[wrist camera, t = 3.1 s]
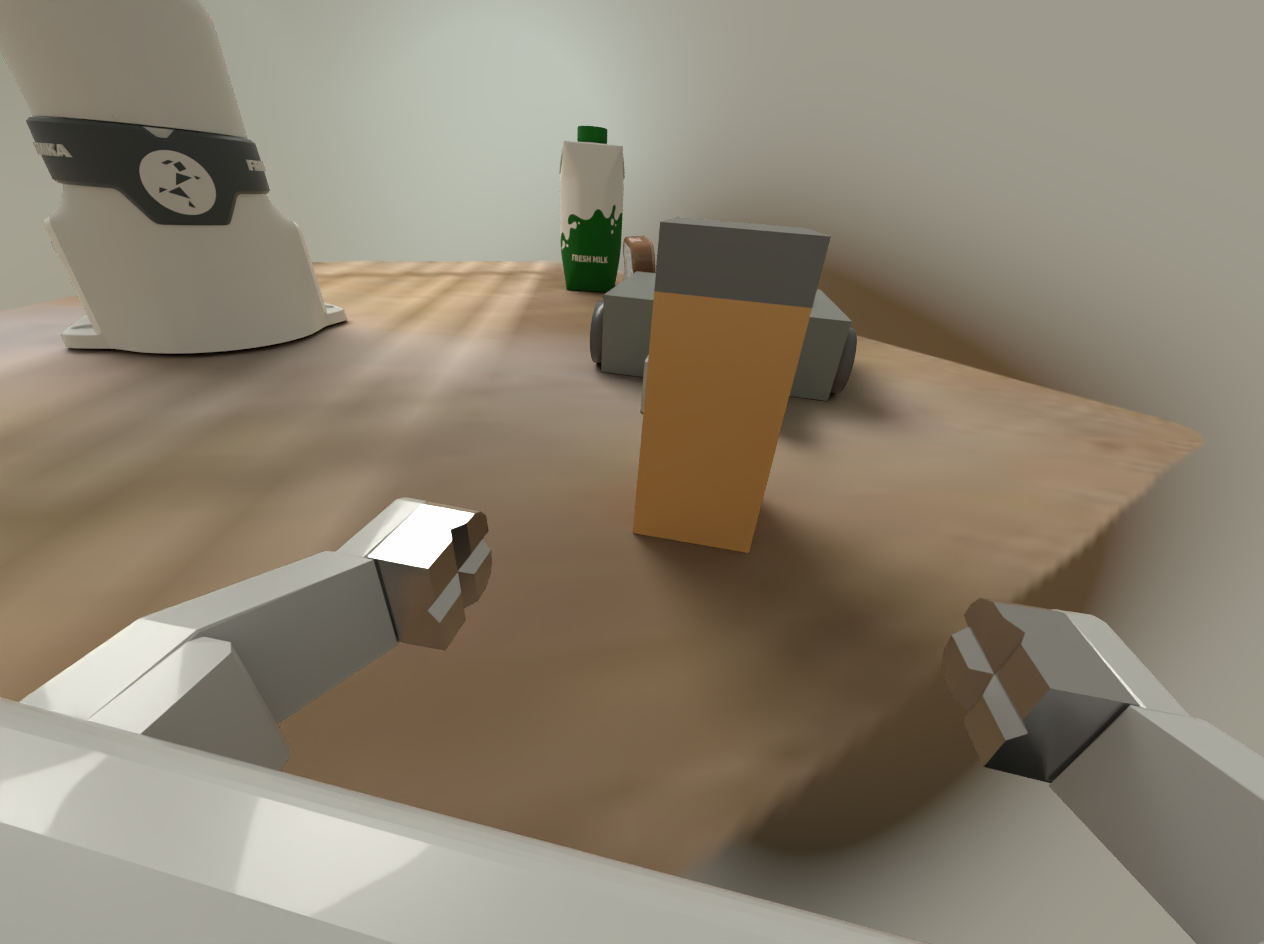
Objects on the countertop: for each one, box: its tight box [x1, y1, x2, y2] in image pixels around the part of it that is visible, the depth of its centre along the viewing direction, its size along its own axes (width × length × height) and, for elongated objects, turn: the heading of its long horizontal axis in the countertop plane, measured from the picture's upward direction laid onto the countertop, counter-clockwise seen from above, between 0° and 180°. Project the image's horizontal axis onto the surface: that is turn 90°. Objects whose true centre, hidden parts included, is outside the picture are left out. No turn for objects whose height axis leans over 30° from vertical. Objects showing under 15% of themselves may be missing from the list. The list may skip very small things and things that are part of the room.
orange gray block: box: [633, 217, 830, 553], centre depth 19 cm, size 5×5×12 cm
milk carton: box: [560, 126, 624, 292], centre depth 66 cm, size 9×9×20 cm
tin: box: [623, 235, 655, 281], centre depth 57 cm, size 15×3×8 cm, turn 5°
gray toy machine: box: [590, 271, 857, 412], centre depth 38 cm, size 21×20×8 cm
